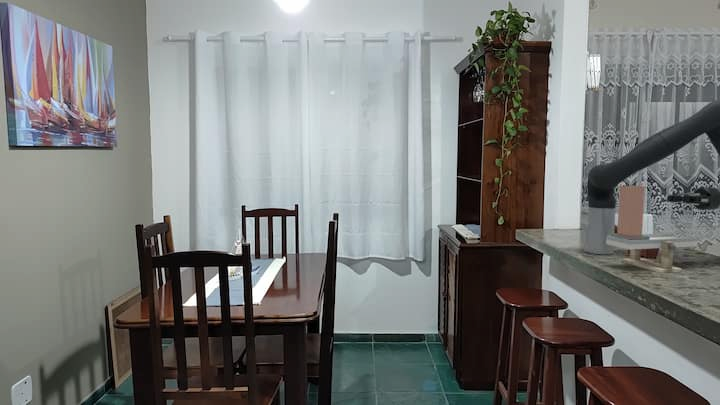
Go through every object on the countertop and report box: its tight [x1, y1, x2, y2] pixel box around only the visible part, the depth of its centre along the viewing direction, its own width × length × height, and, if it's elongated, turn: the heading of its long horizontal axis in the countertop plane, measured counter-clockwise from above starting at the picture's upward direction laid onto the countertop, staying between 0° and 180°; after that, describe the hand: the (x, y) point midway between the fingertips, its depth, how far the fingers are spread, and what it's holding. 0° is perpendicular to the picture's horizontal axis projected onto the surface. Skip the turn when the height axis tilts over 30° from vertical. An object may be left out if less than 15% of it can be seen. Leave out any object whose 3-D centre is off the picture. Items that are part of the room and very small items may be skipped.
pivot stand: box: [620, 241, 683, 274], centre depth 163 cm, size 8×18×9 cm, turn 12°
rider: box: [610, 185, 649, 240], centre depth 160 cm, size 8×8×18 cm
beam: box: [606, 232, 699, 250], centre depth 163 cm, size 26×10×3 cm, turn 102°
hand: (669, 198), depth 163 cm, fingers closed
